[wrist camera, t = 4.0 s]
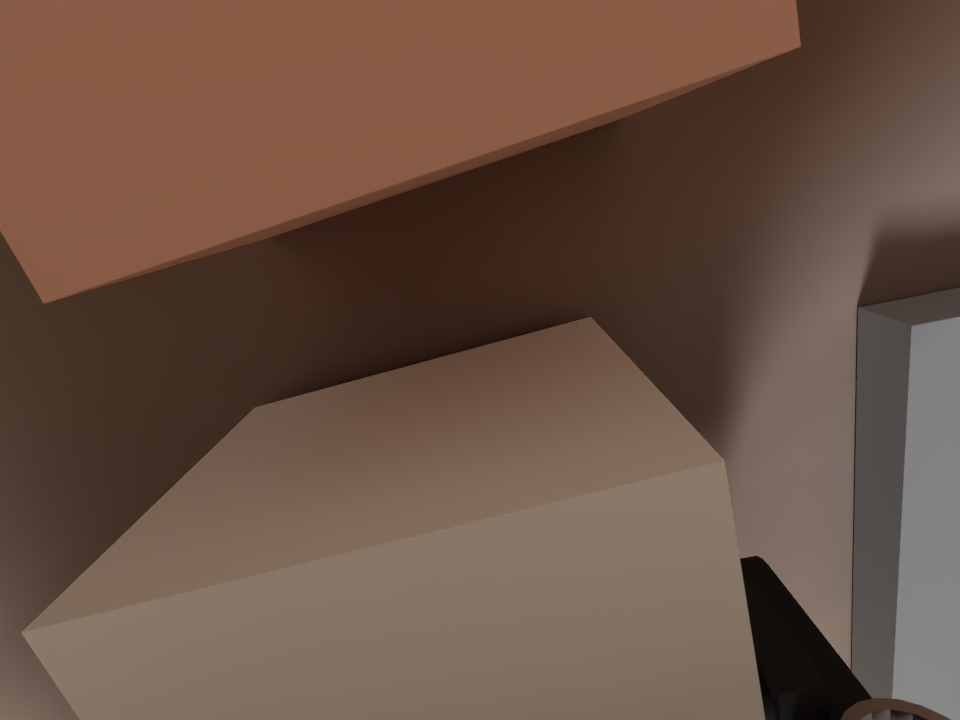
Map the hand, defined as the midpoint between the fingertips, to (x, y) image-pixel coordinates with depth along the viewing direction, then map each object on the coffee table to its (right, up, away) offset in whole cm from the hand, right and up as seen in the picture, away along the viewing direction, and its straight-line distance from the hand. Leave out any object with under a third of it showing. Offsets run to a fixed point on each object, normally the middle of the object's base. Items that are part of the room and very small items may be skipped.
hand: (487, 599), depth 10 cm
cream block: (0, 0, +1) cm, 1 cm away
